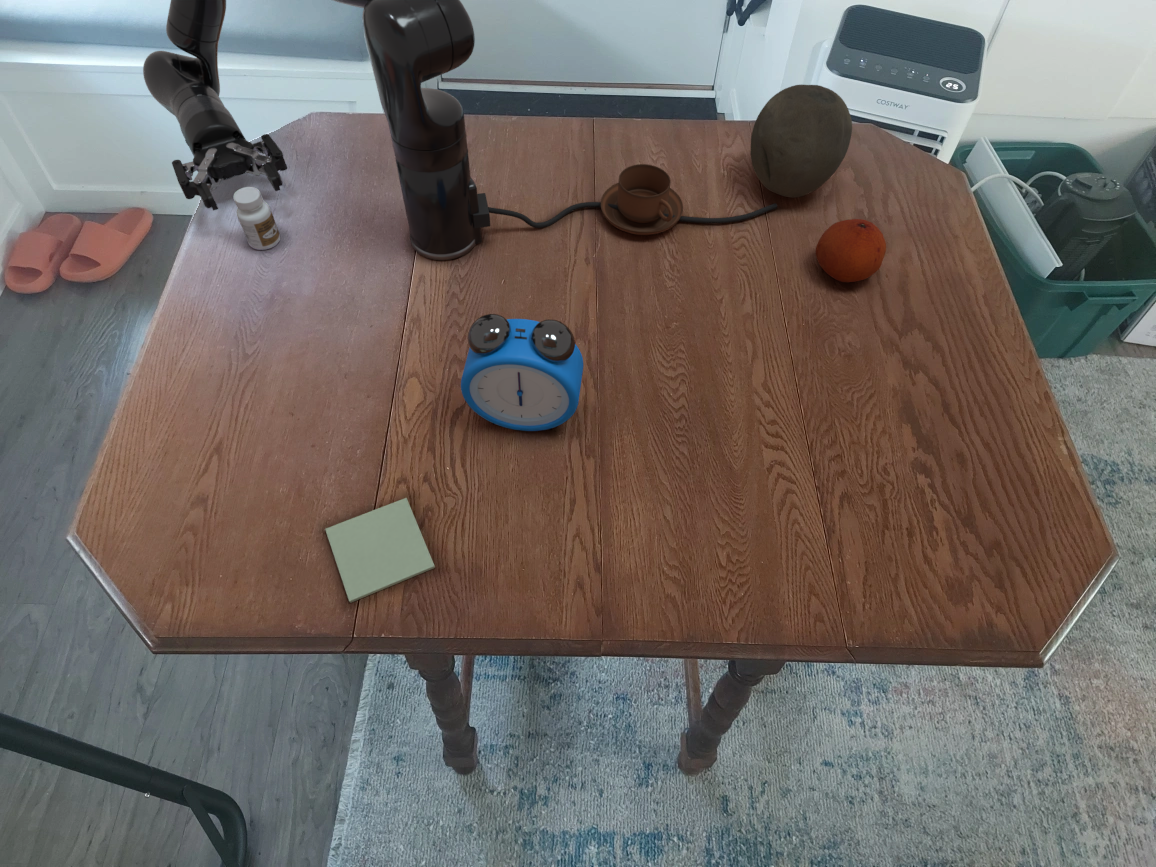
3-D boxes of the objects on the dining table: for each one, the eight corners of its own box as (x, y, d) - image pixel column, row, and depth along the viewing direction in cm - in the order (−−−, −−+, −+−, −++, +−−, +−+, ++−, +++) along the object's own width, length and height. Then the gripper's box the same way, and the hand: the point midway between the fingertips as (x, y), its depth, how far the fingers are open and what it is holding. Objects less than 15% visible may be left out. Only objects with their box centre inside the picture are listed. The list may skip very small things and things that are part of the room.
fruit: (847, 242, 109) (866, 196, 102) (886, 282, 104) (909, 236, 98) (796, 259, 107) (812, 213, 100) (834, 300, 102) (854, 255, 96)
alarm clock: (465, 427, 88) (451, 341, 76) (475, 386, 92) (463, 297, 80) (576, 439, 88) (580, 354, 76) (582, 397, 91) (586, 309, 79)
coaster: (407, 499, 83) (406, 497, 82) (435, 567, 78) (434, 565, 78) (326, 530, 80) (324, 528, 80) (350, 603, 76) (349, 601, 75)
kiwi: (841, 216, 112) (876, 124, 100) (746, 214, 112) (770, 121, 100) (823, 158, 121) (853, 67, 108) (735, 156, 120) (755, 64, 108)
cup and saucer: (695, 208, 113) (702, 173, 108) (656, 253, 107) (661, 218, 102) (626, 180, 116) (629, 144, 111) (584, 222, 110) (586, 186, 105)
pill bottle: (273, 253, 105) (254, 207, 98) (243, 248, 105) (223, 202, 99) (286, 232, 107) (269, 186, 101) (257, 228, 108) (238, 182, 101)
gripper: (150, 123, 105) (180, 187, 97) (252, 96, 110) (288, 155, 102) (172, 170, 111) (203, 233, 103) (268, 142, 116) (304, 201, 108)
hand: (245, 194), depth 102 cm, fingers open, 8 cm apart
